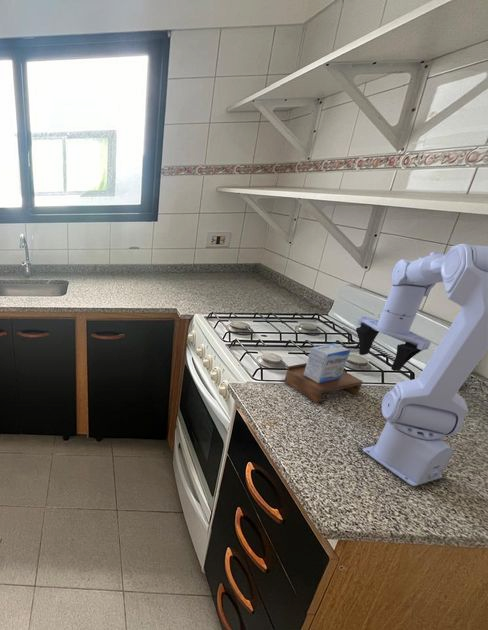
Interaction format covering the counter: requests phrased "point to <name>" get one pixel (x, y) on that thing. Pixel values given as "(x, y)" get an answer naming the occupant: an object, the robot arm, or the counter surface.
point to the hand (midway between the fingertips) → (378, 361)
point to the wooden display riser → (314, 389)
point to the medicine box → (326, 362)
